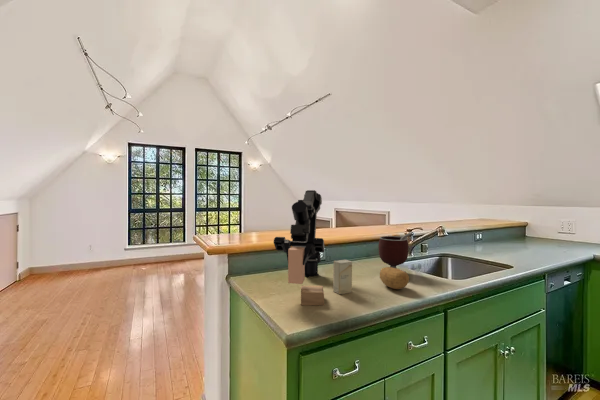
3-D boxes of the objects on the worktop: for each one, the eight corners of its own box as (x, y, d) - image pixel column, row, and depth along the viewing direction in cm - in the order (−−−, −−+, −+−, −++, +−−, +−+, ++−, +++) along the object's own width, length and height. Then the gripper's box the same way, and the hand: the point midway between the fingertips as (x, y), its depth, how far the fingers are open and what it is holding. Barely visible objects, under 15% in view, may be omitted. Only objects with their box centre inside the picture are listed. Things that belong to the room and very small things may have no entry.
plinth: (301, 296, 106) (301, 285, 106) (322, 296, 106) (322, 285, 106) (300, 305, 98) (300, 292, 98) (324, 305, 98) (324, 292, 98)
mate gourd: (378, 276, 133) (379, 233, 133) (377, 268, 147) (378, 229, 146) (414, 278, 129) (414, 234, 129) (409, 270, 143) (410, 230, 142)
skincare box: (339, 294, 108) (339, 263, 108) (332, 291, 112) (332, 260, 112) (352, 292, 111) (352, 261, 111) (345, 288, 115) (345, 259, 115)
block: (291, 278, 106) (291, 246, 105) (304, 279, 105) (304, 247, 104) (288, 283, 101) (288, 249, 100) (302, 284, 100) (302, 250, 99)
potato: (391, 281, 125) (391, 263, 125) (415, 291, 112) (415, 271, 112) (373, 284, 121) (373, 265, 121) (395, 295, 108) (395, 274, 108)
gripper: (274, 215, 108) (265, 250, 97) (323, 216, 104) (320, 252, 94) (280, 233, 116) (272, 267, 105) (325, 234, 112) (322, 269, 102)
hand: (295, 264), depth 101 cm, fingers closed on block, 5 cm apart
